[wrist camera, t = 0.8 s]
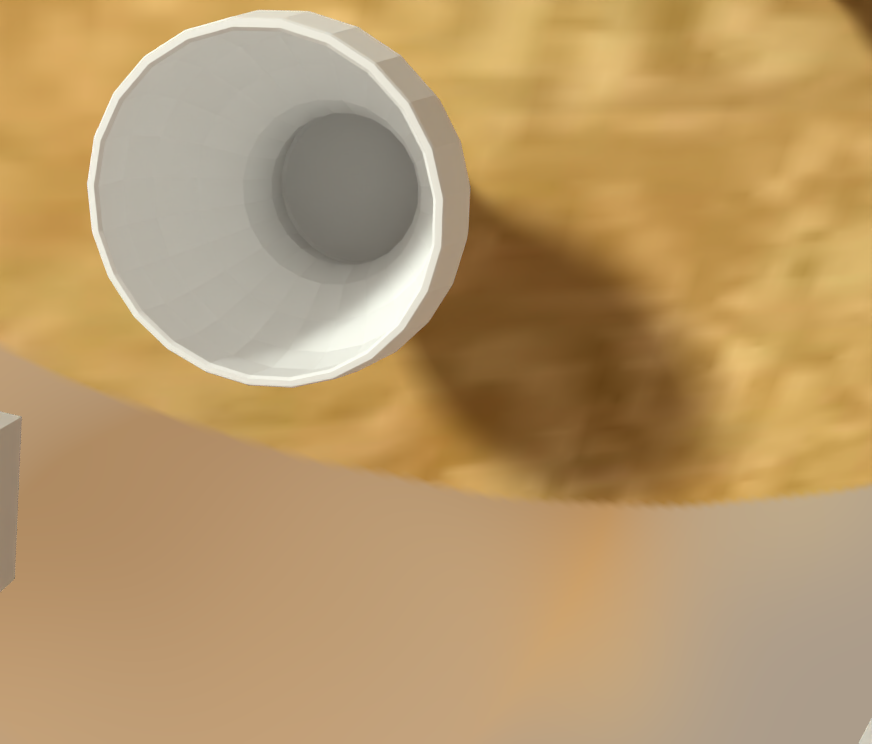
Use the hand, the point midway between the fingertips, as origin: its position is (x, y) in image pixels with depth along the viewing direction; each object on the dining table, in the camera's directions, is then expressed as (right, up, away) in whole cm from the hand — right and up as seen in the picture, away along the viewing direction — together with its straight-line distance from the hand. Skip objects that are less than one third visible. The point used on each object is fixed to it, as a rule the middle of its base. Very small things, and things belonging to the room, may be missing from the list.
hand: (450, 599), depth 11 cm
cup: (-4, +12, +23) cm, 26 cm away
